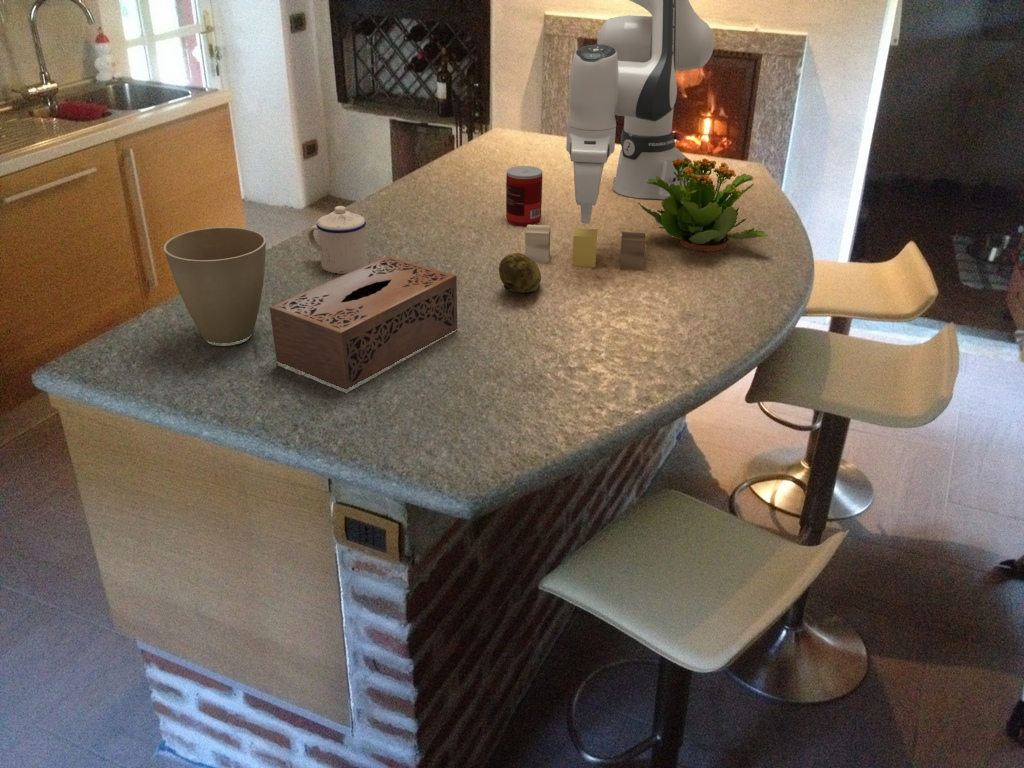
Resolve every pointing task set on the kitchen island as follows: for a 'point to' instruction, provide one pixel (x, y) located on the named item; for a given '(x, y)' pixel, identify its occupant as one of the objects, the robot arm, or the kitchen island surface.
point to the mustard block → (584, 247)
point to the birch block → (537, 243)
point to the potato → (519, 273)
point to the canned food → (523, 195)
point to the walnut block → (632, 251)
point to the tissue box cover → (364, 320)
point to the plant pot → (219, 279)
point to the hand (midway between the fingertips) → (586, 214)
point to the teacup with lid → (340, 241)
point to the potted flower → (701, 206)
